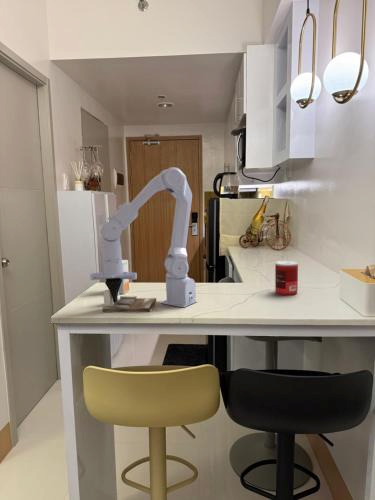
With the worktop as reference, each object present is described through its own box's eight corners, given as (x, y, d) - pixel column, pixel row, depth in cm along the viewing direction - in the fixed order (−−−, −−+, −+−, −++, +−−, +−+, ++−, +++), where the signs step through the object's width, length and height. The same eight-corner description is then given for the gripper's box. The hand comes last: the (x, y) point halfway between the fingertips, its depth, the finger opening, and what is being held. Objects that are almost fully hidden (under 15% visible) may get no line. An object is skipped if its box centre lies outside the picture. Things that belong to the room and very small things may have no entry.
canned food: (299, 290, 133) (299, 261, 132) (295, 296, 126) (296, 265, 125) (277, 289, 137) (277, 260, 135) (273, 294, 129) (273, 264, 128)
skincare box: (124, 294, 136) (122, 262, 134) (113, 294, 137) (111, 262, 135) (130, 290, 142) (128, 259, 140) (119, 290, 143) (117, 259, 141)
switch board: (156, 301, 126) (156, 295, 126) (149, 311, 114) (149, 306, 114) (113, 301, 127) (113, 296, 127) (102, 312, 115) (102, 306, 115)
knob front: (114, 303, 119) (113, 289, 118) (111, 306, 116) (110, 291, 116) (105, 303, 119) (104, 289, 119) (103, 306, 117) (102, 291, 116)
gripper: (85, 262, 112) (88, 305, 114) (132, 261, 111) (134, 304, 113) (93, 258, 119) (96, 299, 121) (137, 257, 118) (139, 298, 120)
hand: (115, 301), depth 118 cm, fingers closed
